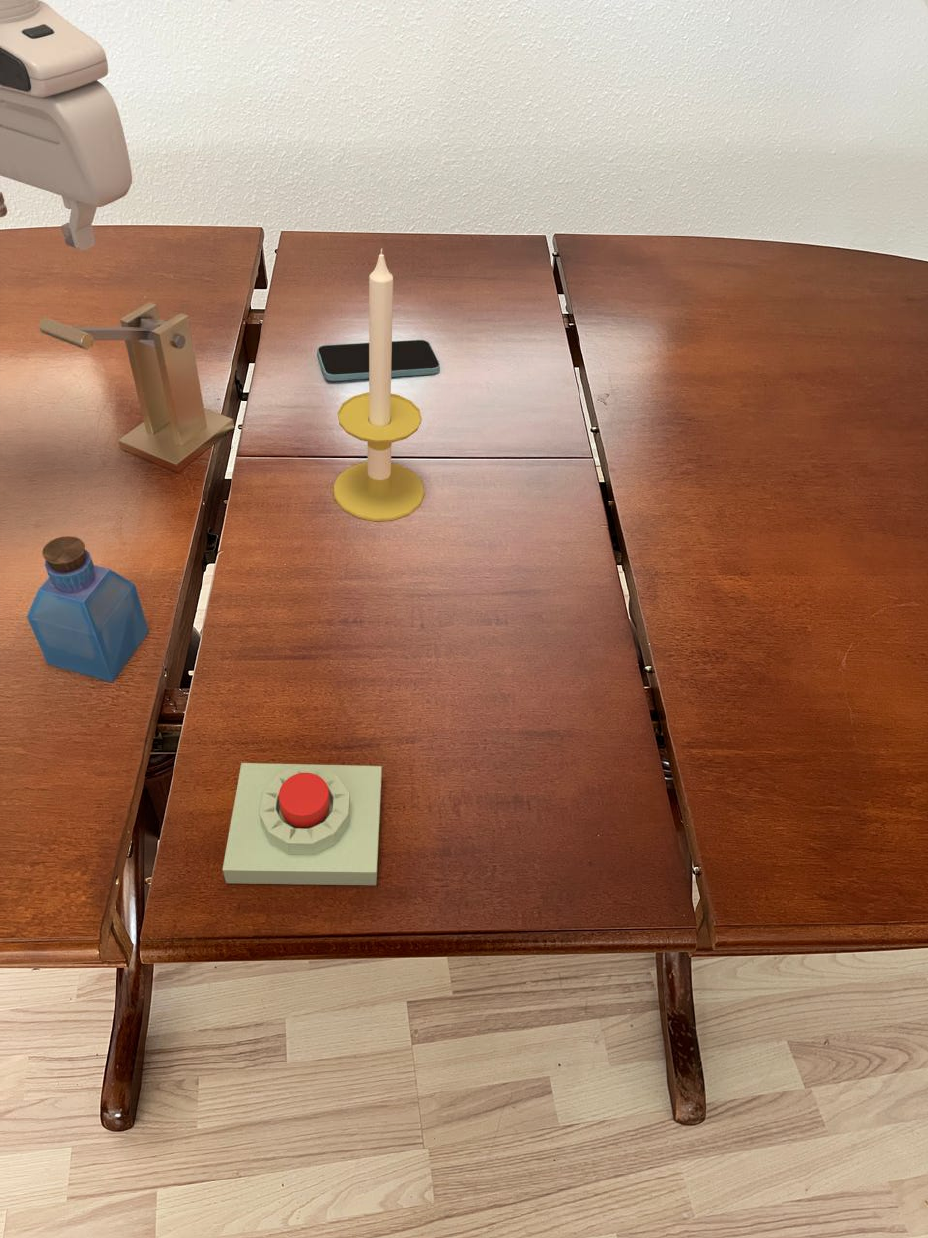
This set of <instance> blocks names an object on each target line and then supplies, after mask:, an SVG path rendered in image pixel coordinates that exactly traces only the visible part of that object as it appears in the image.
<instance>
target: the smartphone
mask: <svg viewBox="0 0 928 1238" xmlns="http://www.w3.org/2000/svg"><path fill="white" fill-rule="evenodd" d="M316 355H317V358H318V362H319V365H320V368H321V371H322V373H323V377H324V378H325V379H326V380H327V381H333V382H334V381H336V382H337V381H350V380H352V381H353V380H363V379H369V342H358V343H357V342H355V343H354V342H353V343H338V344H324V345H319V346H317V349H316ZM440 366H441V364H440V361H439V359H438V357H437V354H436V353H435V351H434V349H433V347H432V345H431V343H430V342H429V341H428V340H425V339H407V340H392V358H391V378H394V377H409V376H410V377H411V376H423V375H435V374H438V373H439V372H440V368H441V367H440Z"/></svg>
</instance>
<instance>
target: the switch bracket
mask: <svg viewBox="0 0 928 1238" xmlns="http://www.w3.org/2000/svg"><path fill="white" fill-rule="evenodd" d="M141 319H160V314H159V309H158V304H156V303H154V302H151V301H148V302H147V303H145V304H143V305H142V306H139V307H138V308H136V309H135V310H133V311H131V312H130V313H128V314H126V315H125V316H123V317H121V318H120V319H119V322H120V327H140V324H141ZM190 323H191V322H190V316H189V315H188V314H186V313H182V312H180V313H178V314H176V315H175V316H173V317H172V318H169V319H168V320H167V322H165V323H164V324H162V325H161V326H159V327H157V328H156V329H154V330H153V331H152V335H153V340H154V345H155V348H153V347H150V346H147V345H145V344H142V343H139V340H124V343H125V347H126V351H127V356H128V360H129V364H130V369H131V372H132V377H133V381H134V385H135V389H136V394H137V398H138V403H139V408H140V412H141V416H142V420H143V421H142V422H141V423H140V424H138V425H136V427H134V428H133V429H131V430H130V431H129V432H127V433H126V434H124V435H123V436H122V437H120V438H119V439H118V440H117V442H118V446H119V448H120V450H122V451H125V452H127V453H129V454H132V455H134V456H136V457H139V458H141V459H144V460H146V461H147V462H150V463H153V464H155V465H158V466H160V467H162V468H164V469H166V470H170V471H172V472H175V473H177V474H179V473H180V472H181V471H182V470H184V469H185V468H186V467H188V466H189V465H190V464H191V463H193V462H194V461H195V460H196V459H197V458H199V457H200V456H201V455H202V454H204V453H205V452H206V451H207V450H209V449H210V448H211V447H212V446H214V445H215V444H216V443H217V442H219V441H220V440H221V439H222V438H223V437H225V436H226V435H227V434H228V433H230V432H231V431H232V430H234V428H235V423H234V418H231V417H228V416H226V415H224V414H221V413H218V412H216V411H213V410H211V409H209V408H205V406H204V400H203V394H202V389H201V383H200V378H199V371H198V365H197V359H196V353H195V349H194V348H195V347H194V341H193V336H192V330H191V326H190V325H191V324H190Z"/></svg>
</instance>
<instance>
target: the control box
mask: <svg viewBox="0 0 928 1238" xmlns="http://www.w3.org/2000/svg"><path fill="white" fill-rule="evenodd" d="M239 768H240V769H239V773H238V780H237V785H236V791H235V797H234V801H233V807H232V812H231V813H232V814H231V819H230V824H229V830H228V835H227V842H226V847H225V852H224V858H223V864H222V874H223V876H224V880H225V881H224V882H225V884H233V885H234V884H243V885H247V884H250V885H310V886H311V885H314V886H315V885H317V886H320V885H322V886H323V885H324V886H377V884H378V883H377V882H378V867H379V865H378V864H379V845H380V824H381V823H380V822H381V803H382V802H381V801H382V781H383V779H382V777H383V776H382V775H383V766H382V765H349V764H312V763H311V764H307V763H305V764H304V763H303V764H302V763H264V762H263V763H261V762H260V763H259V762H257V763H255V762H241V763H240V767H239ZM299 773H312V774H315V775H318V776H319V777H321V778H322V779H323V780H324V781H325V782H326V784H327V786H328V789H329V801H330V806H329V810H328V813H327V815H326V816H325V817H324V818H323V819H322V820H321V821H320V822H319V823H317V824H315V825H313V826H309V827H297V826H294V825H292V824H290V823H288V822H287V821H286V820H285V819H284V817H283V816H282V813H281V809H280V803H279V791H280V788H281V786H282V785H283V783H284V782H285V781H286V780H287V779H288V778H290V777H291V776H293V775H296V774H299Z"/></svg>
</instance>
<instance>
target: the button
mask: <svg viewBox="0 0 928 1238" xmlns="http://www.w3.org/2000/svg"><path fill="white" fill-rule="evenodd" d="M279 803H280V809H281V813H282V816H283V817H284V819H285V820H286V821H287V822H288V823H290V824H292V825H294V826H297V827H309V826H313V825H315V824H317V823H319V822H320V821H321V820H322V819H323V818H324V817H325V816H326V815H327V813H328V810H329V806H330V801H329V789H328V786H327V784H326V782H325V781H324V780H323V779H322V778H321V777H319V776H318V775H315V774H312V773H299V774H296V775H293V776H291V777H290V778H288V779H287V780H286V781H285V782H284V783H283V785H282V786H281V788H280V791H279Z"/></svg>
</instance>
